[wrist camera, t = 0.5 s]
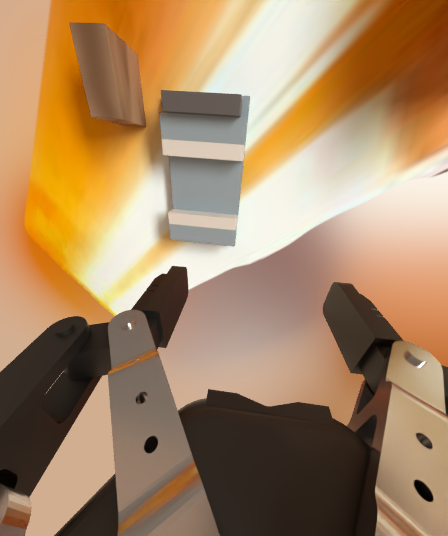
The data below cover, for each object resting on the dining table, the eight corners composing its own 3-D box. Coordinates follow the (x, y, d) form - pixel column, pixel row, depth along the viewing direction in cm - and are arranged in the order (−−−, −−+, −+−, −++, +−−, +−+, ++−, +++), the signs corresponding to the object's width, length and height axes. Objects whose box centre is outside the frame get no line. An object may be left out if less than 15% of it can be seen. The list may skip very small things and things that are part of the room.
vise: (168, 94, 28) (156, 85, 24) (249, 99, 27) (250, 90, 23) (177, 235, 39) (170, 243, 35) (235, 241, 38) (233, 250, 35)
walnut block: (122, 125, 30) (91, 117, 24) (110, 53, 26) (69, 22, 20) (146, 126, 30) (120, 118, 24) (137, 54, 26) (104, 23, 20)
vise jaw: (164, 97, 27) (153, 89, 23) (249, 102, 26) (249, 94, 23) (168, 155, 30) (159, 155, 27) (243, 161, 29) (242, 161, 26)
